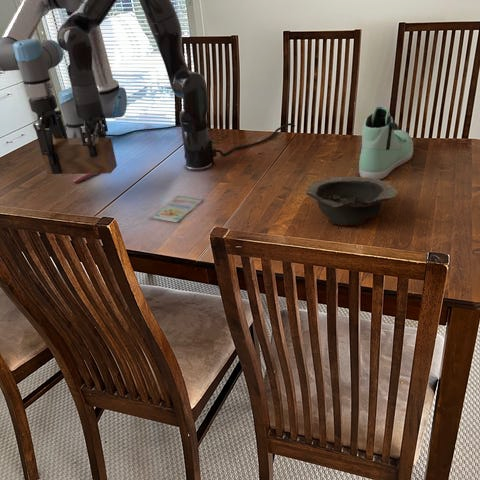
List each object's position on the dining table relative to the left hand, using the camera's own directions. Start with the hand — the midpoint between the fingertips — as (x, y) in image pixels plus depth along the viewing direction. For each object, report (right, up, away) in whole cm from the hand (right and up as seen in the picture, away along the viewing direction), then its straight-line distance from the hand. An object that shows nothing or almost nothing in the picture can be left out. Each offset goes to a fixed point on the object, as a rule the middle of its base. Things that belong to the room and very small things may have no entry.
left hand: (61, 169), depth 154 cm
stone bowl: (+88, -15, -16) cm, 91 cm away
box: (+7, 0, -1) cm, 7 cm away
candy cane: (+2, +1, +21) cm, 21 cm away
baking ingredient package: (+38, -14, -8) cm, 41 cm away
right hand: (+13, +4, -5) cm, 15 cm away
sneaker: (+107, +4, +12) cm, 108 cm away
